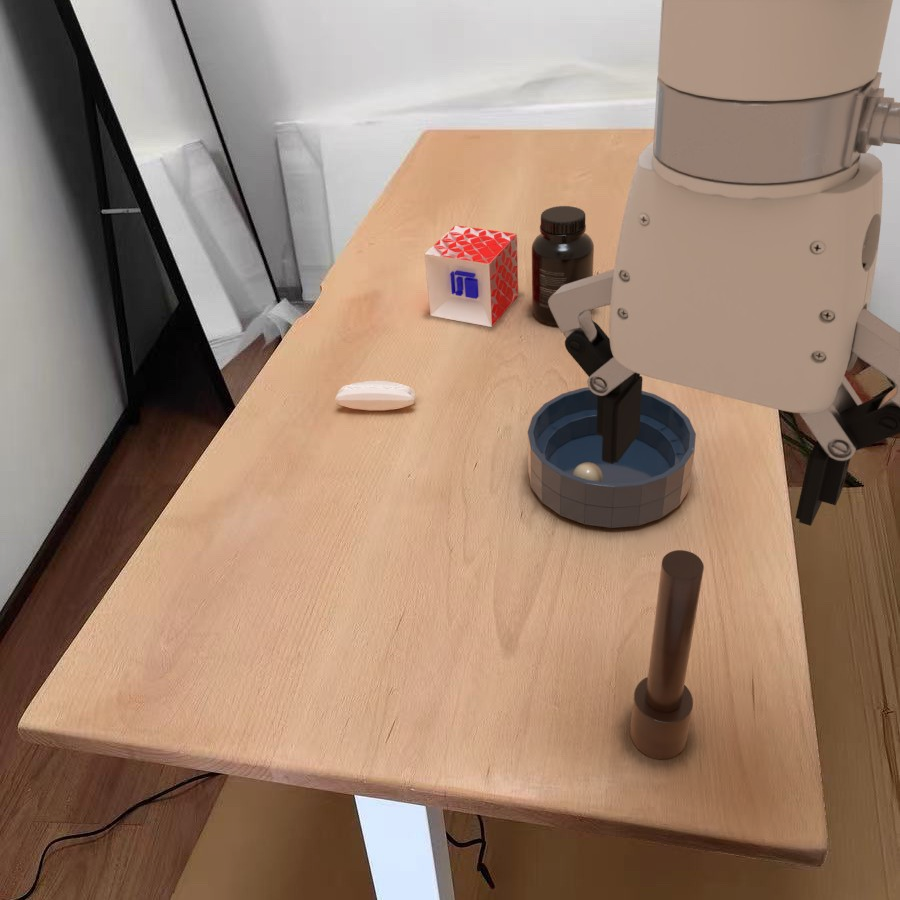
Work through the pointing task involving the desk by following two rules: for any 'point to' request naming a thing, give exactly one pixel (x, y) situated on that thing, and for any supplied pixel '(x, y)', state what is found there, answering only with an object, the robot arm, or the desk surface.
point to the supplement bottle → (559, 256)
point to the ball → (588, 472)
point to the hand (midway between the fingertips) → (711, 475)
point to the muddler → (669, 661)
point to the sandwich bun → (375, 396)
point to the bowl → (624, 483)
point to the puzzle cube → (472, 275)
